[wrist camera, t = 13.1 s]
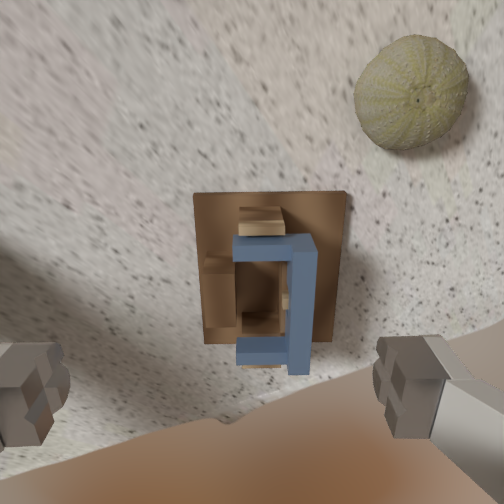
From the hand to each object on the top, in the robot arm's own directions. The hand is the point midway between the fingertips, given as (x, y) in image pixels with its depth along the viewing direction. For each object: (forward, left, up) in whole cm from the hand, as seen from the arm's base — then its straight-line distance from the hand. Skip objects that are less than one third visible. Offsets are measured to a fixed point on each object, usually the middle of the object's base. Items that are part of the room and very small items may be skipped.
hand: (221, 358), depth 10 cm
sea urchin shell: (+15, +5, -30) cm, 33 cm away
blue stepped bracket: (+3, -13, -24) cm, 28 cm away
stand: (+3, -13, -29) cm, 32 cm away
